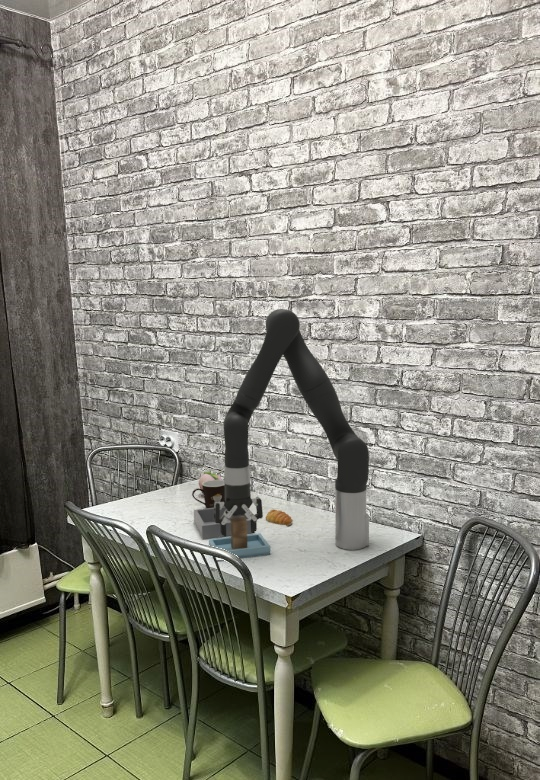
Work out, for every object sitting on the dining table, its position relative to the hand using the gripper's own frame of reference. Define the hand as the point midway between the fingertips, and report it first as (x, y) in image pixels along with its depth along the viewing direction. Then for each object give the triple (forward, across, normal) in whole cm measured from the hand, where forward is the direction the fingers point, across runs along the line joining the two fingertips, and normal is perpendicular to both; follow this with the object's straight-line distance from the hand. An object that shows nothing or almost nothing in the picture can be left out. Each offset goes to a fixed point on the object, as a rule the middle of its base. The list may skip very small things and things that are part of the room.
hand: (238, 534), depth 185 cm
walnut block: (+4, 0, 0) cm, 4 cm away
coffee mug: (+5, -1, +39) cm, 39 cm away
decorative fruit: (+5, +2, +56) cm, 56 cm away
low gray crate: (+5, -1, +19) cm, 20 cm away
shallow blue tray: (+5, 0, 0) cm, 5 cm away
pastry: (+6, +18, +20) cm, 28 cm away
